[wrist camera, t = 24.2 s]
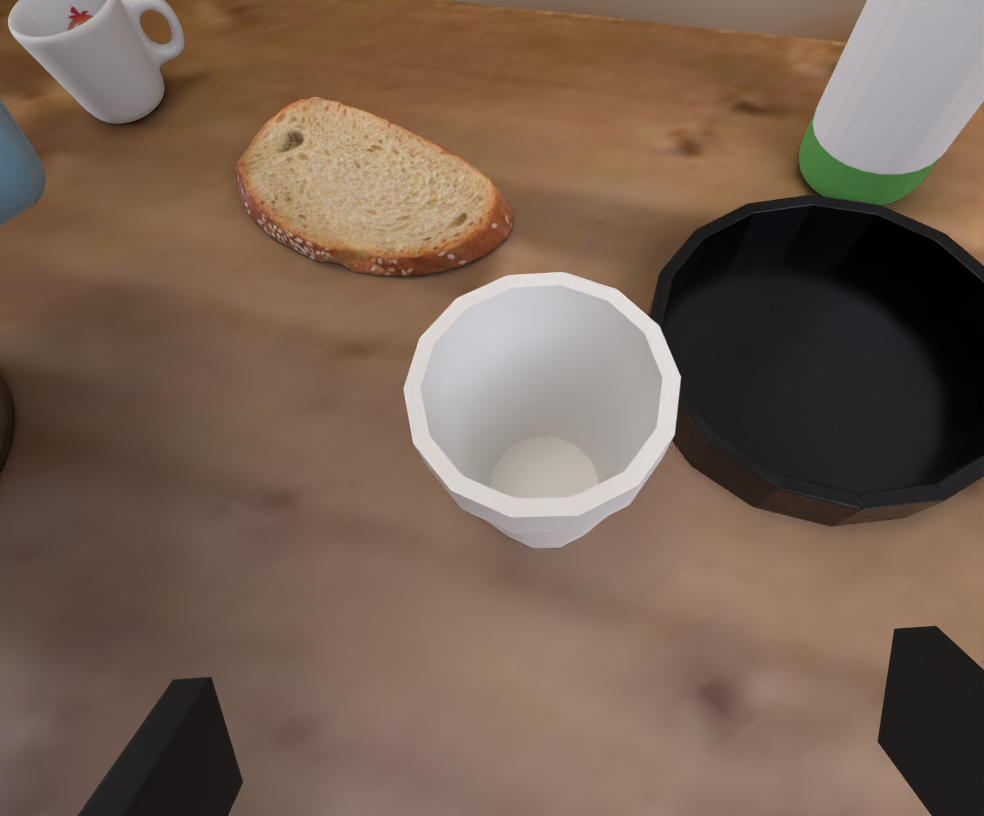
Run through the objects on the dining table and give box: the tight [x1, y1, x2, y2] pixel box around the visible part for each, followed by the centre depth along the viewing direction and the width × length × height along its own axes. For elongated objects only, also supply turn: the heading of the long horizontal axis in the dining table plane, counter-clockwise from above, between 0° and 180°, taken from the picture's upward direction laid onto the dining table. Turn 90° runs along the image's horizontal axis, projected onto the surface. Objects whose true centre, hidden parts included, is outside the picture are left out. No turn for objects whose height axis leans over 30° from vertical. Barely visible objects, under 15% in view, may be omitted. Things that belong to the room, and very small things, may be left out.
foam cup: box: [403, 272, 681, 548], centre depth 26 cm, size 10×9×13 cm
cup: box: [8, 0, 185, 124], centre depth 45 cm, size 11×8×8 cm
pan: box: [648, 195, 984, 526], centre depth 30 cm, size 32×19×4 cm, turn 73°
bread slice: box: [236, 97, 513, 276], centre depth 40 cm, size 18×18×4 cm
